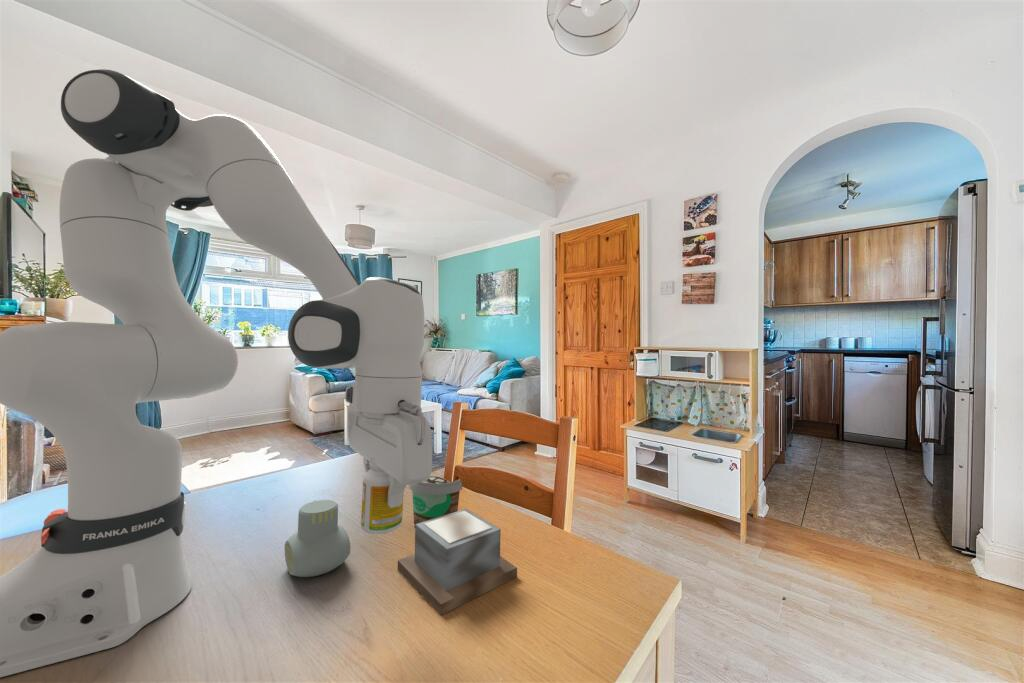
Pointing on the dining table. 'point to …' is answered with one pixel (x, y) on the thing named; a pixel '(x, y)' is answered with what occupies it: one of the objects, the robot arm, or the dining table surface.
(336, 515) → the air freshener
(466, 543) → the pedestal
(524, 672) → the dining table surface
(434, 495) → the food container
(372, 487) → the supplement bottle
